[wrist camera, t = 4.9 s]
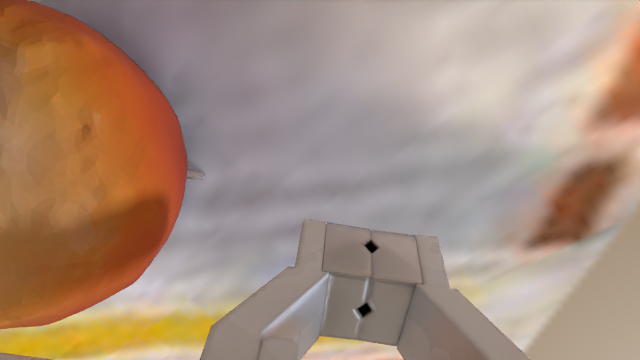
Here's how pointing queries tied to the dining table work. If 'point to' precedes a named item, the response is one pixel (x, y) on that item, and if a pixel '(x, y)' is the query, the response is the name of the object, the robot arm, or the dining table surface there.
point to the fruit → (78, 166)
